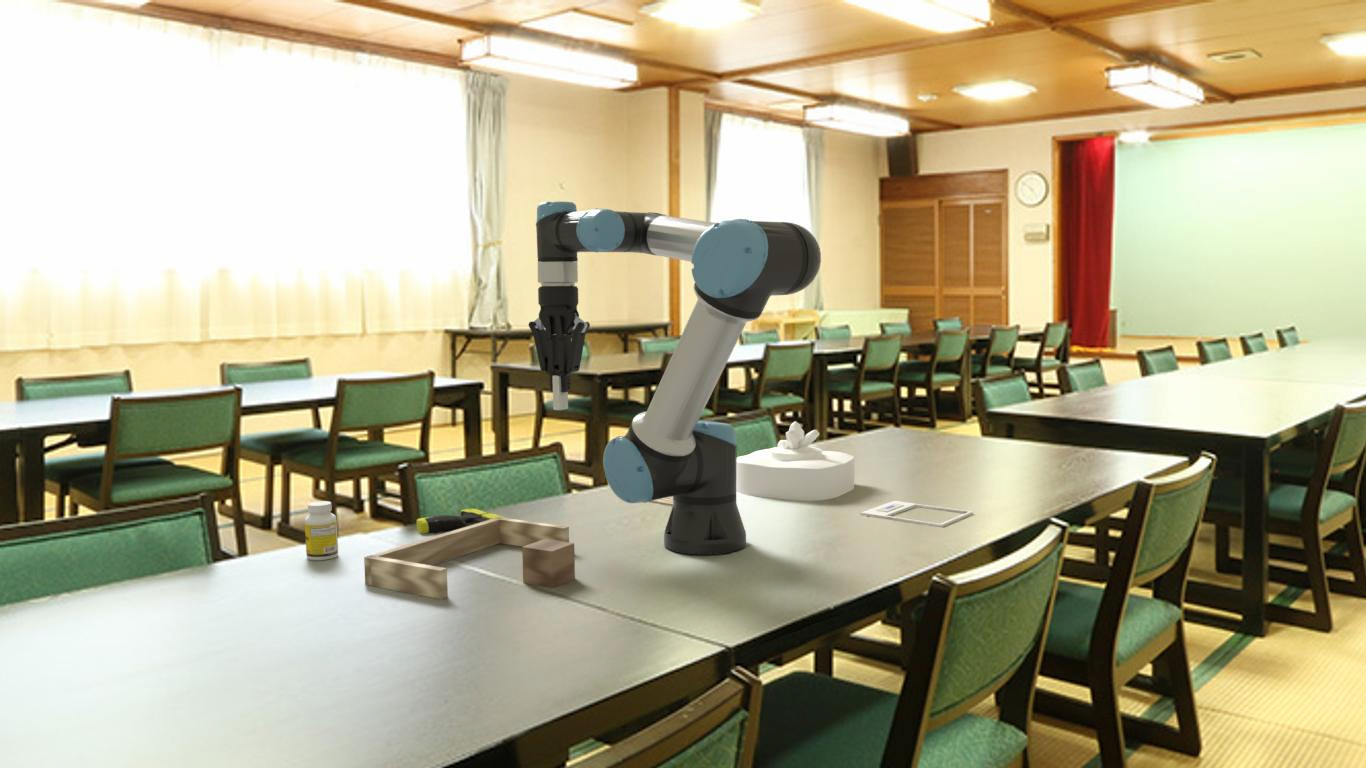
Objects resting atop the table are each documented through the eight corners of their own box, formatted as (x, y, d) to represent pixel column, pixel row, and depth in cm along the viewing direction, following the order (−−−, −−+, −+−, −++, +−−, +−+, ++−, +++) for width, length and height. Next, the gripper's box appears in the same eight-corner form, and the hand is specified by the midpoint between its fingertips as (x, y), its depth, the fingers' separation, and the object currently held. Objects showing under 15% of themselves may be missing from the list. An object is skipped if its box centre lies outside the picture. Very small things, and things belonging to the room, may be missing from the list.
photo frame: (894, 499, 229) (972, 510, 217) (894, 504, 229) (972, 516, 218) (860, 511, 217) (941, 523, 206) (860, 517, 218) (941, 529, 206)
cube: (575, 578, 173) (574, 543, 173) (552, 588, 168) (551, 551, 167) (545, 574, 176) (545, 538, 176) (523, 583, 171) (522, 546, 170)
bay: (569, 551, 191) (568, 526, 190) (440, 599, 162) (440, 570, 162) (498, 540, 199) (498, 517, 198) (365, 584, 171) (364, 557, 170)
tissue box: (864, 484, 251) (865, 417, 249) (823, 504, 229) (824, 431, 228) (770, 475, 263) (770, 412, 262) (722, 493, 242) (722, 424, 240)
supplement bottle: (310, 553, 190) (308, 500, 190) (341, 552, 191) (339, 499, 190) (302, 561, 185) (300, 506, 184) (334, 560, 186) (331, 506, 185)
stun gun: (455, 535, 193) (525, 522, 203) (408, 517, 208) (476, 506, 218) (456, 551, 194) (526, 537, 203) (409, 532, 208) (476, 520, 218)
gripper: (597, 284, 198) (600, 408, 200) (542, 285, 205) (545, 405, 207) (574, 284, 192) (576, 413, 194) (518, 285, 198) (521, 409, 201)
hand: (560, 409), depth 201 cm, fingers closed
